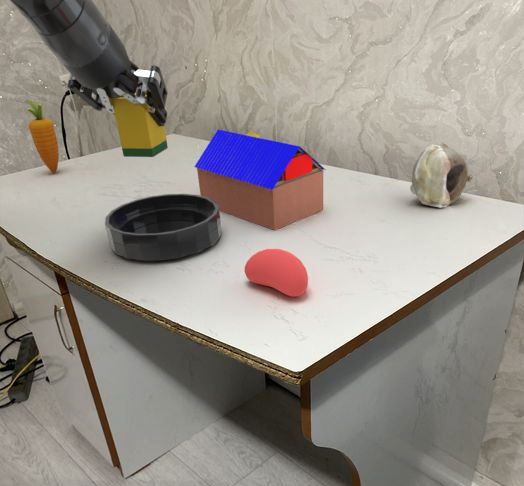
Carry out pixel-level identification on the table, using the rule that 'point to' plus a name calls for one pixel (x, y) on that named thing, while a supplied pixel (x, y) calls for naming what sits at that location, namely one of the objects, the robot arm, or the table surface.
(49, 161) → the carrot
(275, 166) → the house
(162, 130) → the sponge
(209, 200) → the bowl
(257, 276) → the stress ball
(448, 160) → the sea shell
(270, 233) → the table surface
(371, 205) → the table surface
